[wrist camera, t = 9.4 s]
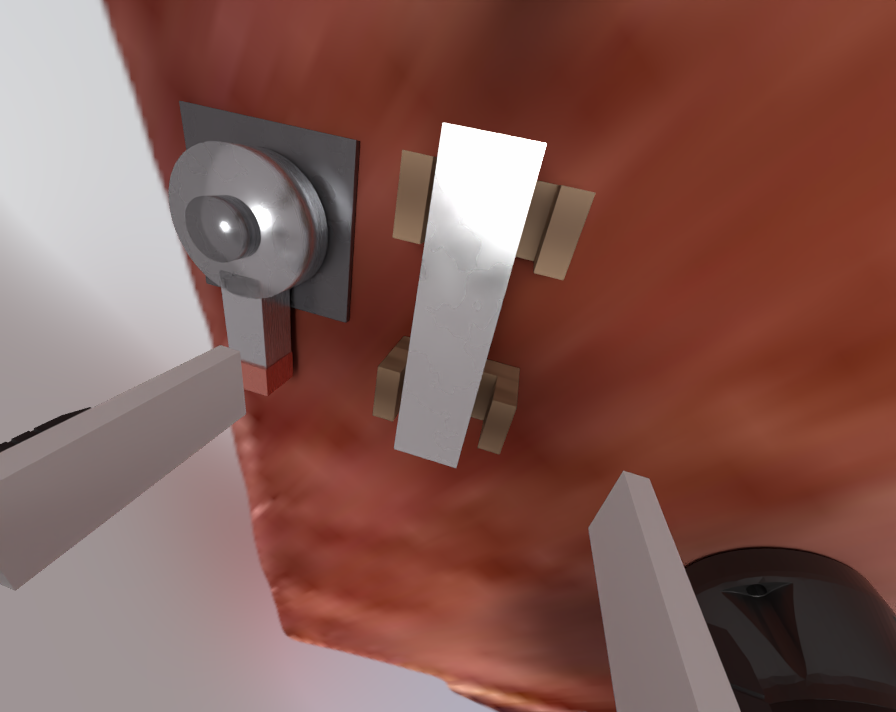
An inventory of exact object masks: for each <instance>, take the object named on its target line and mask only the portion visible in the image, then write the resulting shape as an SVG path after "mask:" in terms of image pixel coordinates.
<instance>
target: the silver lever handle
mask: <svg viewBox="0 0 896 712" xmlns="http://www.w3.org/2000/svg"><path fill="white" fill-rule="evenodd" d="M169 206H170V212H171V216H172V221H173V224H174V227H175V230H176V232H177V234H178V237H179V239H180V241H181V243H182V245H183V247H184V248H185V250H186V252H187V253H188V255H189V256H190V258H191V259H192V260H193V262H194V263H195V264H196V265H197V267H198V268H199V269H200V270H201V271H202V272H203V273H204V274H205V275H206V276H207V277H208V278H209V279H211V280H212V281H213V282H214V283H216V284H217V285H218V286H220V287H221V289H222V297H223V305H224V312H225V320H226V328H227V335H228V343H229V348H231V349H234V350H237V351H240V357H241V367H242V377H243V388H244V389H246V390H249V391H253V392H256V393H259V394H262V395H265V396H269V395H270V394H271V393H272V392H274V391H275V390H276V389H277V388H279V387H280V386H281V385H282V384H284V383H285V382H286V381H287V380H289V379H290V378H291V377H292V376H293V358H292V351H291V328H290V295H289V289H290V288H292V287H295V286H297V285H299V284H302V283H304V282H306V281H307V280H309V279H310V278H311V277H312V276H313V275H315V273H316V272H317V271H318V269H319V268H320V266H321V264H322V263H323V260H324V257H325V254H326V250H327V242H328V229H327V222H326V217H325V213H324V209H323V207H322V204H321V201H320V199H319V197H318V195H317V193H316V191H315V189H314V188H313V186H312V184H311V183H310V181H309V180H308V179H307V177H306V176H305V175H304V174H303V173H302V172H301V170H300V169H299V168H298V167H297V166H296V165H294V164H293V163H292V162H291V161H290V160H288V159H287V158H285V157H284V156H282V155H281V154H279V153H277V152H275V151H272V150H270V149H266V148H263V147H256V146H249V145H241V144H234V143H226V142H219V141H207V142H202V143H198V144H196V145H194V146H192V147H190V148H189V149H188V150H186V151H185V152H184V153H183V154H182V155H181V156H180V157H179V159H178V160H177V162H176V164H175V166H174V168H173V171H172V173H171V178H170V182H169Z"/></svg>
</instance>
